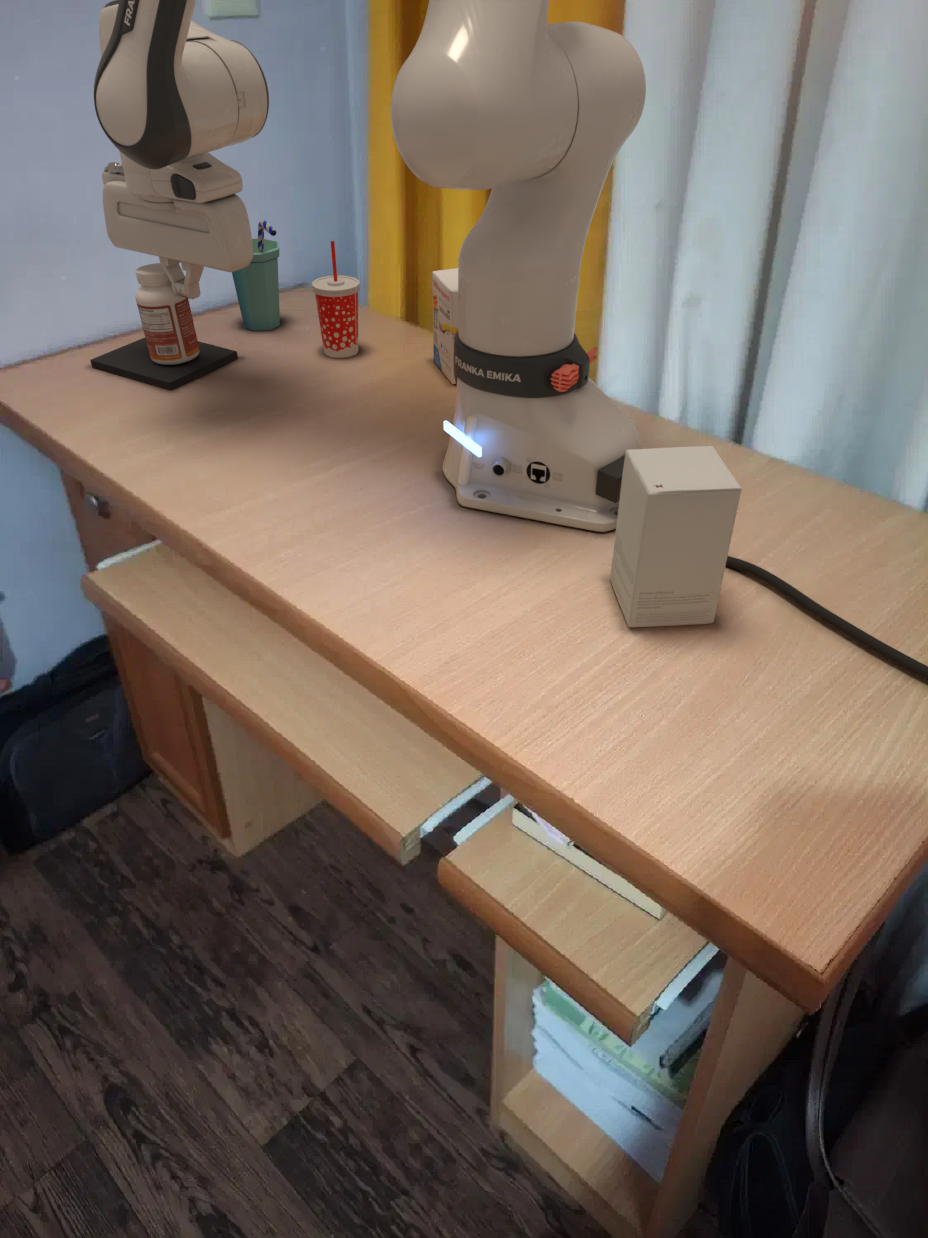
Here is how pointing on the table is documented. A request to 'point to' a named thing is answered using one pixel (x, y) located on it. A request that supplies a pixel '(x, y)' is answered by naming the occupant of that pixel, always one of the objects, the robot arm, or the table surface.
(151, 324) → the pill bottle
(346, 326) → the beverage cup
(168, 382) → the mat
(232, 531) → the table surface
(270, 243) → the cup
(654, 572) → the white packaging box
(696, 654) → the table surface
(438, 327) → the ink box
